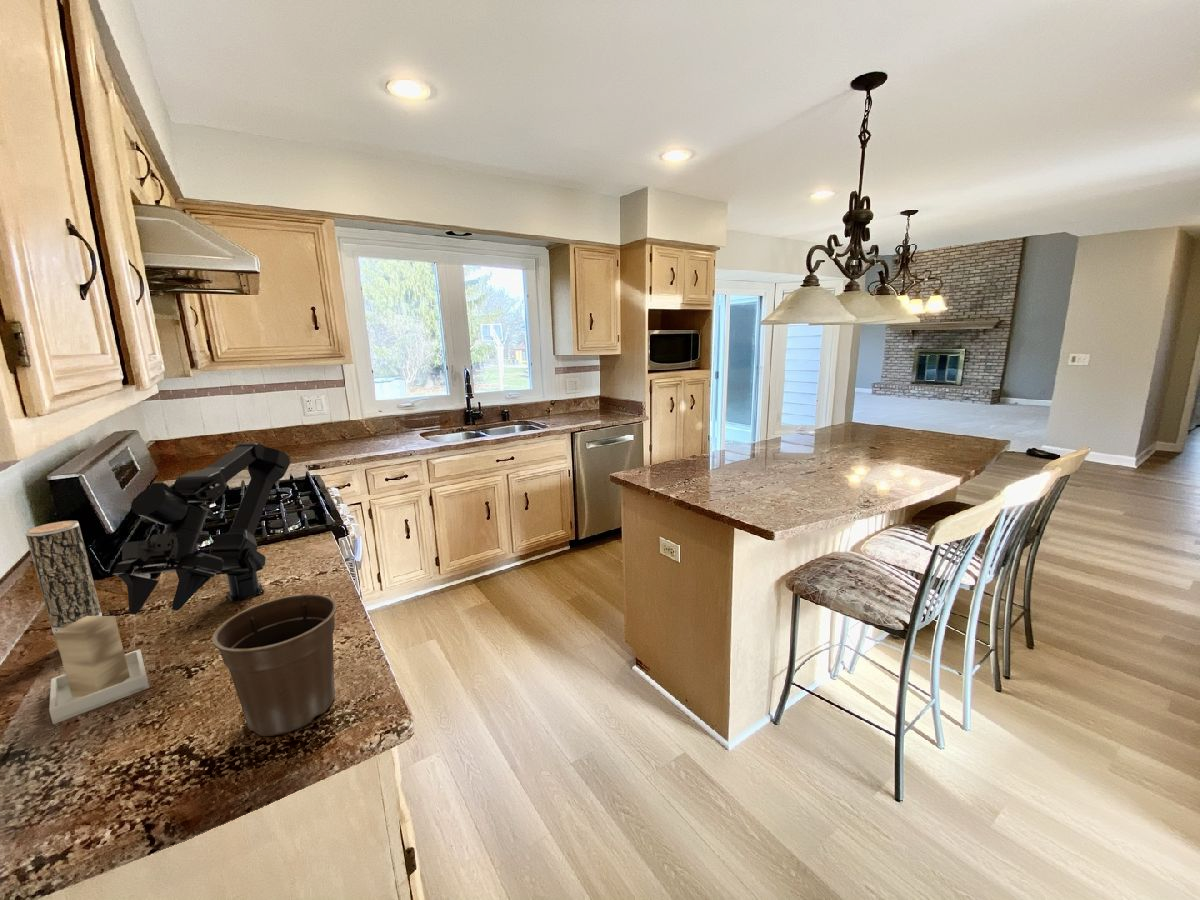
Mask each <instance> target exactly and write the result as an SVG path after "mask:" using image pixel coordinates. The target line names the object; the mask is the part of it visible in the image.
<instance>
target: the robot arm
mask: <svg viewBox="0 0 1200 900" xmlns="http://www.w3.org/2000/svg"><path fill="white" fill-rule="evenodd" d="M290 464H291V459H290V456H289V455H288V454H287V453H286V452H284V450H279V449H274V448H271V447H267V446H265V445H263V444H261V443H258V442H246V443H244V442H243V443H242V442H241V443H239V444H237V445H236V446H235V447H234V448H233V449H232V450H230V451H229V452H228V453H226V454H225V455H223V456H221V457H220V458H218V460H216V461H214V462H213V463H212V464H210V465H208V466H207V467H205V468H203V469H202V468H201V469H199V470H194V471H190V472H187V473H186V474H183V475H181V476H179V477H178V478H176V480H175V481H174V482H173V484H171V485H168V484H167V483H164V482H152V483H151V484H150V486H149V487H148V488H146V489H144V490H142V491H141V492H140V493H139V494H137V495H136V496H135V497H134V498H133V500H131V501H132V502H131V505H130V509H131V511H132V512H133V513H134V514H135V515H137V516H140V517H143V518H145V519H147V520H148V521H151V522H154V523H156V524H159V525H161V526H162V525H163V526H165V527H164V530H163V532H162V533H157V534H153V535H151V536H150V539H148V540H147V539H146V540H136V541H129V542H122V546H121V547H122V553H121V560H122V561H120V562H118V563H116V564H115V567H114V569H113V572H112V575H113V576H117V579H118V580H122V582H123V583H124V584H125V585H126V588H127V597H128V598H127V599H128V613H129V615H137V614H138V613H139V612H140V610H141V609H142V608H143V606H144V605H145V603H146V602H147V600H148V599H149V597H150V596H151V594H152V592H153V591H154V589H155V588H156V586H157V585H158V583H159V582H160V581H159V580H157V579H158V578H159V577H160V576H161V575H162V573H166V572H167V573H169V572H175V573H176V576H177V578H178V582H177V586H176V589H175V590H176V591H175V592H174V597H173V600H172V606H171V610H172V611H175V612H178V611H179V610H181V609H182V608H183V607H184V605H185V604H186V603H187V602H188V601H189V600H190V599H191V598H192V597H193V596H194V595H195V594H196V593H197V592H198V591H199V589H200V588H202V587H203V586H204V585H205V584H206V583H207V582H208V581H209V580H210V579H211V578H215V576H220V575H226V578H227V583H228V584H227V585H228V590H229V591H226V593H225V594H227V595H226V596H227V598H228V599H229V601H230V602H231V603H237V602H240V601H243V600H246V599H248V597H249V598H251V597H250V596H253V597H255V596H254V595H256V596H258V595H257V594H259V593H262V592H264V593H265V590H264V588H263V587H262V586H261V585H260V583H259V577H258V572H259V571H262V570H263V569H264V567H265V566H266V555H264V554H263V553H261V552H259V551H258V548H259V547H258V544H257V543H258V542H257V541H256V537H255V534H256V531H257V528H258V525H259V523H260V521H261V518H262V515H263V512H264V510H265V508H266V504H267V502H268V499H269V497H270V494H271V491H272V488H273V485H275V484H276V483H277V482H279V480H281V479H282V478H283V477H284V476H285V475H286V473H287V471H288V469H289V467H290ZM246 468H247V471H248V473H249V477H250V480H249V483H248V485H247V487H246V489H245V492H244V494H243V497H242V499H241V502H240V505H239V506H238V509H237V512H236V514H235V517H234V519H233V522H232V524H231V526H230V529H229V530H228V531H227V532H226V533H217V534H216V535H215V537H214V540H213V542H212V545H211V547H210V548H209V550H208V551H209V553H205V552H203V551H202V552H201V551H200V552H195V551H196V548H197V546H201V545H203V543H204V539H203V538H200V536H201V533H202V531H203V527H204V523H205V521H206V519H213V518H215V513H214V511H212V509H211V507H210V506H209V505H200V504H198V503H208V502H209V503H210V502H216V501H217V500H218V499H219V498H220V497H221V496H222V494H224V492H225V491H226V490H227V483H228V482H229V481H230V480H231V479H232V478H235V477H236V476H237V475H238V474H239V473H241V472H242V471H244V470H245V469H246ZM261 591H262V592H261ZM262 594H263V593H262ZM259 595H260V594H259ZM245 598H246V599H245ZM242 599H243V600H242ZM239 600H240V601H239Z"/></svg>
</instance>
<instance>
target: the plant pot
mask: <svg viewBox="0 0 1200 900" xmlns="http://www.w3.org/2000/svg"><path fill="white" fill-rule="evenodd" d="M337 605H338V604H337V602H336V600H335V599H334V598H332V597H330V596H327V595H324V594H319V593H301V594H300V593H299V594H294V595H293V594H292V595H288V596H287V595H286V596H284V597H279V598H274V599H271V600H267V601H265V602H262V603H259V604H256V605H253V606H251V607H249V608H246V609H244V610H242V611H240V612H238V613H236V614H234V615H233V616H231V617H230V618H228V619H227V620H226V621H224V622H223V623H222V624H220V625H219V626H218V627H217V628H216V630H215V631H214V633H213V634H212V638H211V641H212V643H213V646H214V647H215V648H216V649H217V650H219V653H220V656H221V658H222V659H221V660H222V662H223V664H224V666H226V667H227V668H228V671H229V674H230V676H231V680H232V682H233V685H234V688H235V691H236V694H237V697H238V700H239V703H240V706H241V709H242V713H243V716H244V719H245V722H246V726H247V728H248V731H249V732H252V731H253V732H254V733H256V735H257V736H261V737H262V736H263V737H264V736H265V737H269V736H270V737H272V736H278V735H283V734H287V733H290V732H293V731H296V730H298V729H301V728H303V727H305V726H307V725H309V724H311V723H312V721H313V720H314V719H315V718H316V717H317V716H320V715H323V714H324V713H325V712H326V711H327V710H328V709H330V707H331V705H332V704H333V701H334V700H335V696H336V695H335V694H336V688H335V687H336V686H335V685H336V684H335V683H336V682H335V663H334V662H335V661H334V632H335V629H336V627H335V625H336V624H335V614H336V612H337Z"/></svg>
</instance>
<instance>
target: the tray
mask: <svg viewBox="0 0 1200 900" xmlns="http://www.w3.org/2000/svg"><path fill="white" fill-rule="evenodd" d="M124 654H125V658H126V663H127V667H128V671H129V675H130V677H129V678H128V679H126V680H125V681H123V682H122V683H119V684H116V685H113V686H111V687H108V688H105V689H102V690H100V691H97V692H94V693H91V694H89V695H86V696H83V697H72V695H71V691H70V688H69V684H68V680H67V677H66V673H65V674H61V675H58V676H56V677H53V678H51V679H50V693H49V694H50V695H49V707H48V708H49V709H48V710H49V714H50V719H51V721H52V722H51V723H52V725H56V724H58V723H60V722H63V721H66V720H68V719H71V718H74V717H76V716H80V715H81V714H82V715H83V714H85V713H87V712H90V711H92V710H94V709H98V708H101V707H103V706H106V705H107V704H110V703H113V702H115V701H119V700H121V699H123V698H127V697H129V696H131V695H133V694H137V693H139V692H142V691H145V690H147V689H149V688H150V685H149V684H150V683H149V680H148V677H147V673H146V672H147V671H146V667H145V663H144V660H143V655H142V651H141V648H139V649H136V650H132V651H130V652H127V653H124Z"/></svg>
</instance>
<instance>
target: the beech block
mask: <svg viewBox="0 0 1200 900" xmlns="http://www.w3.org/2000/svg"><path fill="white" fill-rule="evenodd" d="M54 633H55V637H56V641H57V644H58V648H59V651H58V652H59V655H60V659H61V662H62V665H63V669H64V673H65V674H66V677H67V680H68V684H69V688H70V691H71V695H72V697H83V696H86V695H89V694H91V693H94V692H97V691H100V690H102V689H105V688H108V687H111V686H113V685H116V684H119V683H122V682H123V681H125V680H126V679H128V678H129V677H130V675H129V671H128V667H127V663H126V658H125V654H126V653H125V651H124V647H123V643H122V638H121V636H120V635H121V634H120V631H119V627H118V623H117V619H116V616H115V615H102V616H86V617H84V618H82V619H80V620H78V621H76V622H74V623H72V624H70V625H68V626H66V627H64V628H62V629H60V630H58V631H56V632H54ZM56 641H55V642H56Z"/></svg>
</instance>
